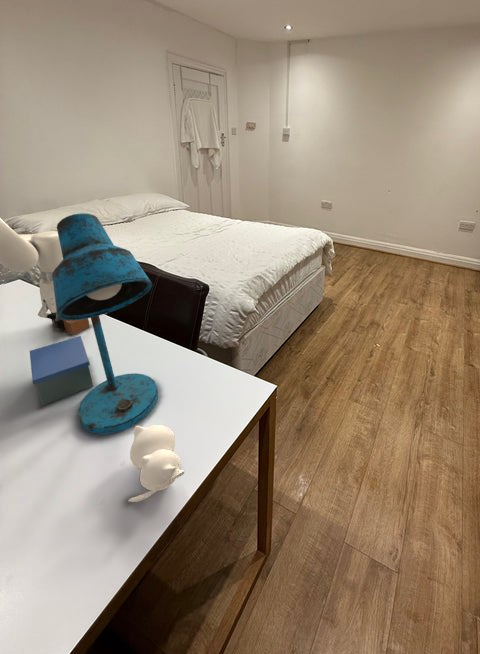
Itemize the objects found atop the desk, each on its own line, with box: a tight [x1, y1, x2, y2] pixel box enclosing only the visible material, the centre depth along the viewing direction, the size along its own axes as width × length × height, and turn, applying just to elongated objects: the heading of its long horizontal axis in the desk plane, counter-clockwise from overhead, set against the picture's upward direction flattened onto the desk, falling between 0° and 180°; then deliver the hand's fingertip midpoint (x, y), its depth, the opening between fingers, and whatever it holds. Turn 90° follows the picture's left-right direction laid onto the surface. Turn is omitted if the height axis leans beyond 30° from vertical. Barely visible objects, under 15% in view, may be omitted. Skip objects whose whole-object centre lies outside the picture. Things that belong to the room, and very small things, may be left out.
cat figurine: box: [128, 424, 185, 503], centre depth 59 cm, size 9×11×12 cm
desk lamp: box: [52, 212, 159, 435], centre depth 65 cm, size 16×22×45 cm
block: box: [49, 312, 90, 336], centre depth 101 cm, size 11×5×4 cm, turn 63°
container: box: [29, 335, 94, 406], centre depth 79 cm, size 13×11×8 cm
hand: (70, 324), depth 101 cm, fingers closed on block, 5 cm apart
